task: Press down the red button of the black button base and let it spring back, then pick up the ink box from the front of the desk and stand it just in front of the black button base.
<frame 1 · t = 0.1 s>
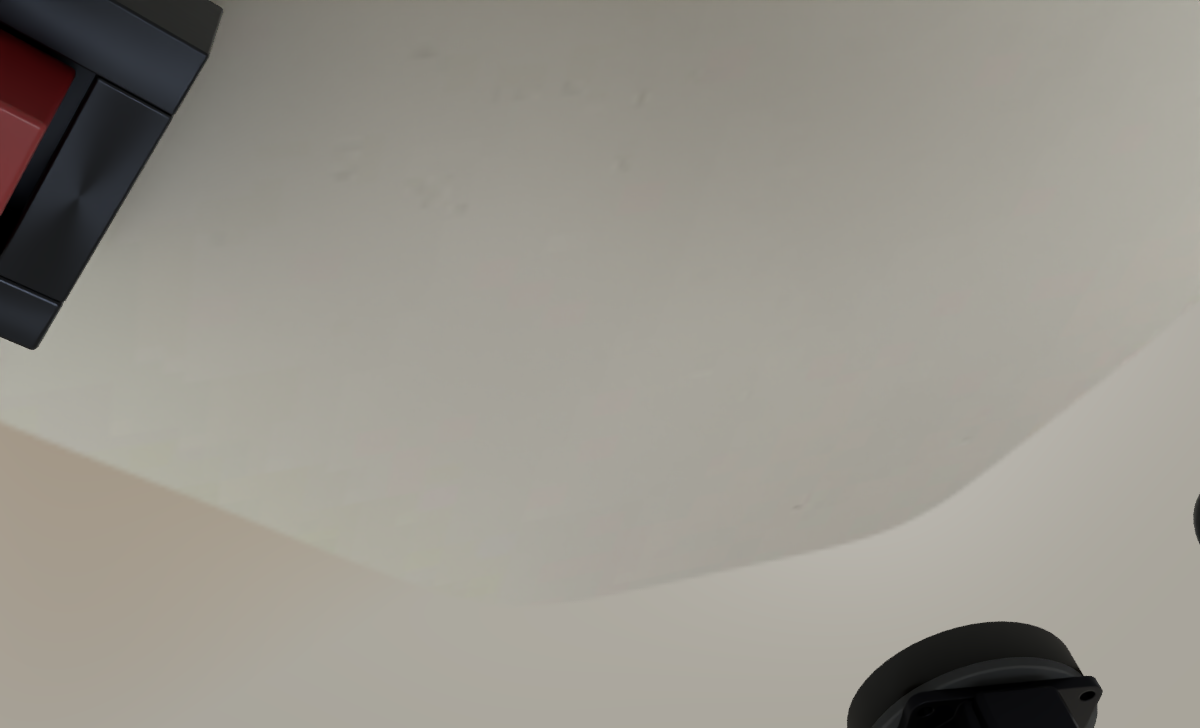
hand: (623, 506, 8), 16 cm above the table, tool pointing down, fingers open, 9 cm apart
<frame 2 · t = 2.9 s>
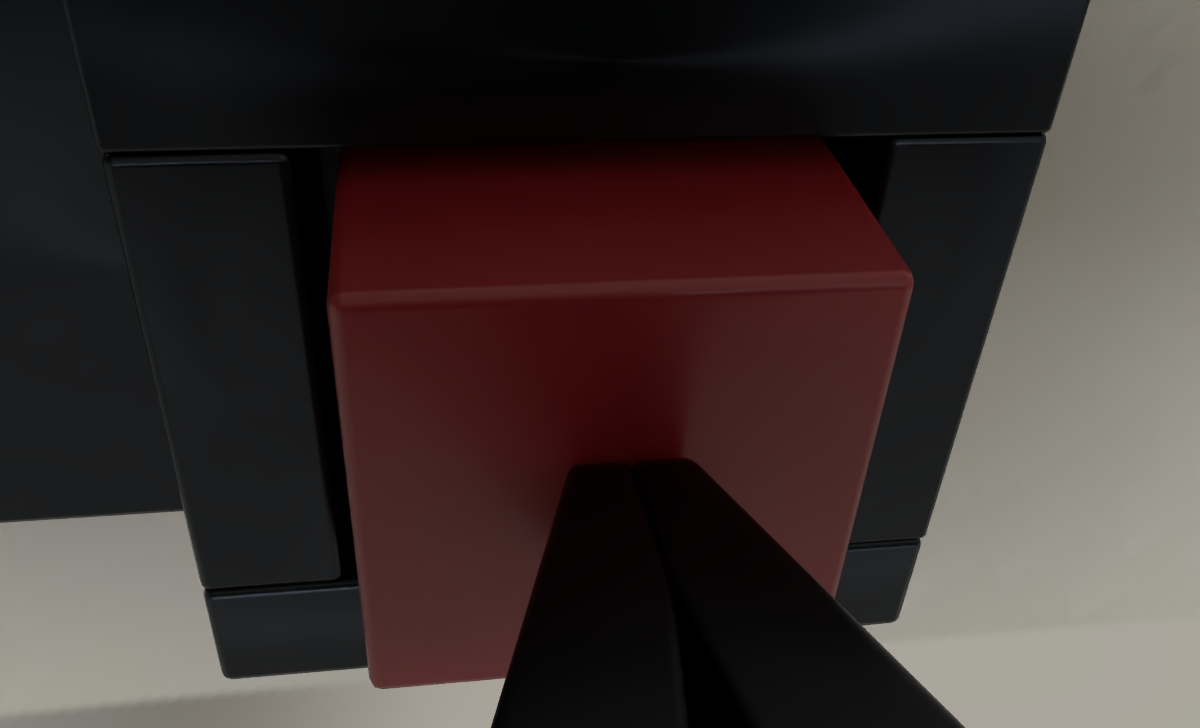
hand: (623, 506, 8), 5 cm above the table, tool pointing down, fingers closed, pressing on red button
red button: (596, 413, 9), point 4 cm above the table, slide at -0.2 cm, touching gripper
black button base: (193, 160, 12), on the table
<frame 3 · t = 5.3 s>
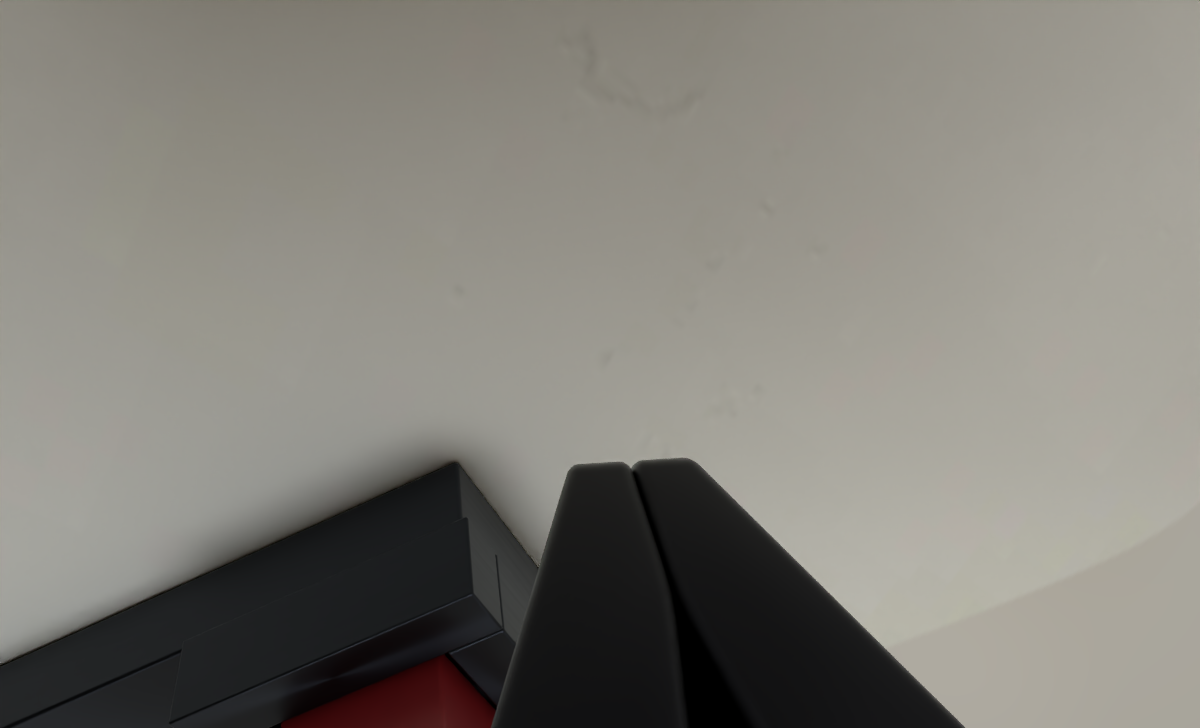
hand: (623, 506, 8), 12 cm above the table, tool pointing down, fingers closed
black button base: (273, 652, 27), on the table
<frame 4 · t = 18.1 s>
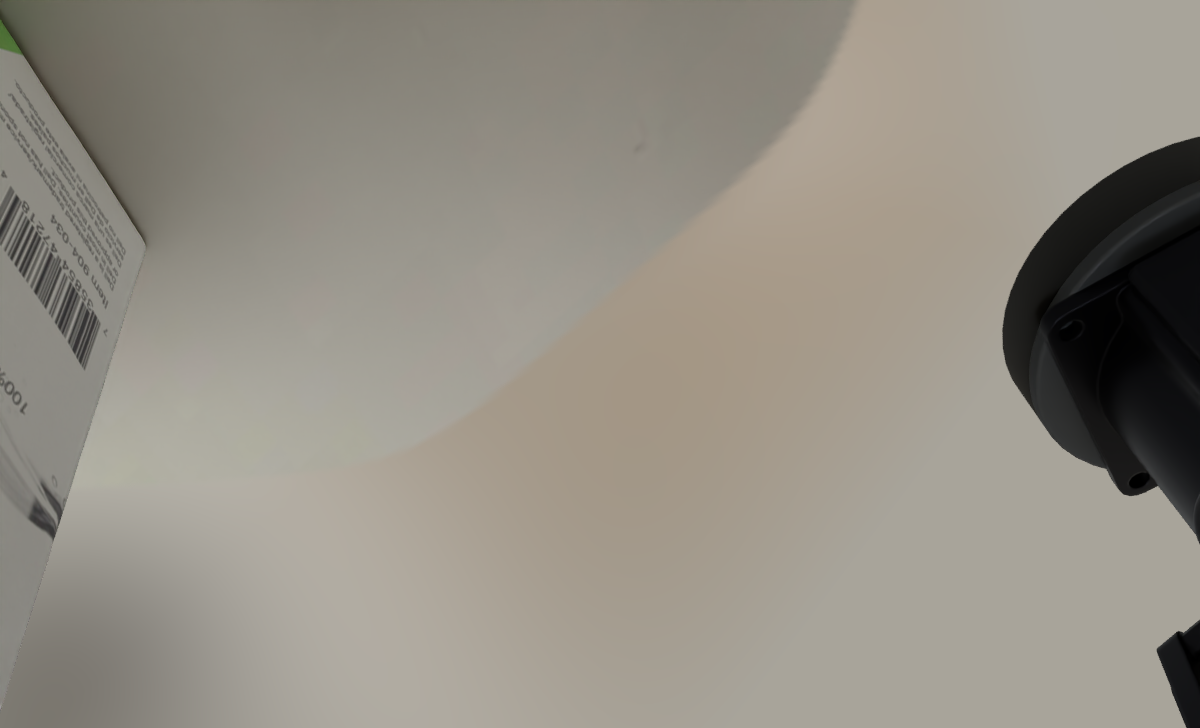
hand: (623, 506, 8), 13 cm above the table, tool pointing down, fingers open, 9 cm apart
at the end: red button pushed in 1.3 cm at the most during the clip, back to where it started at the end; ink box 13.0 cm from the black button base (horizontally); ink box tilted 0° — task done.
